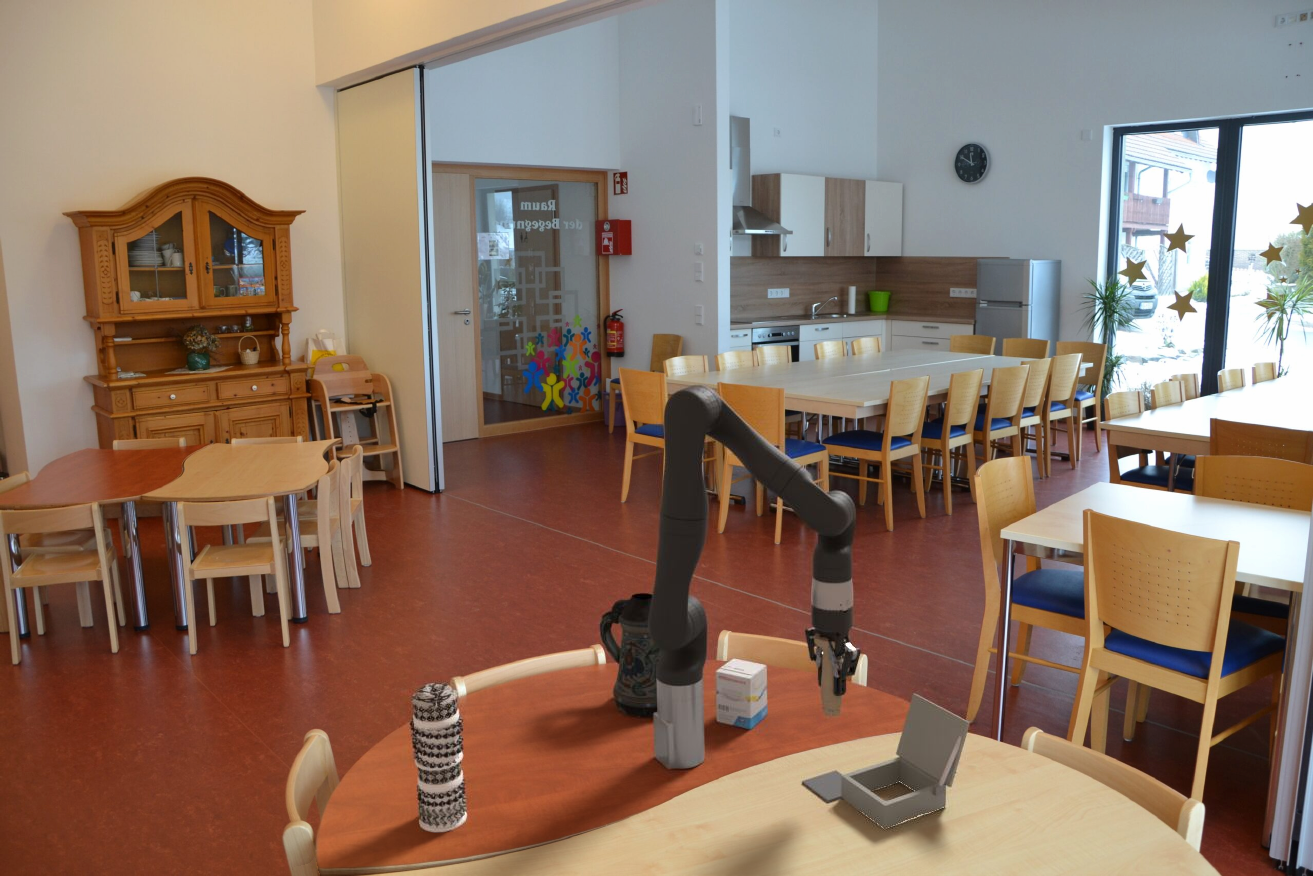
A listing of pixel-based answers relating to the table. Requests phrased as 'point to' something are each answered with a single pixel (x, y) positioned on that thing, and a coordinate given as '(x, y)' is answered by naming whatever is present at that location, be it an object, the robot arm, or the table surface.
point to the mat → (826, 785)
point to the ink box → (741, 693)
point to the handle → (828, 680)
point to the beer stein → (633, 656)
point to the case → (912, 766)
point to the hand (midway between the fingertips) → (831, 690)
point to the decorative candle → (438, 758)
